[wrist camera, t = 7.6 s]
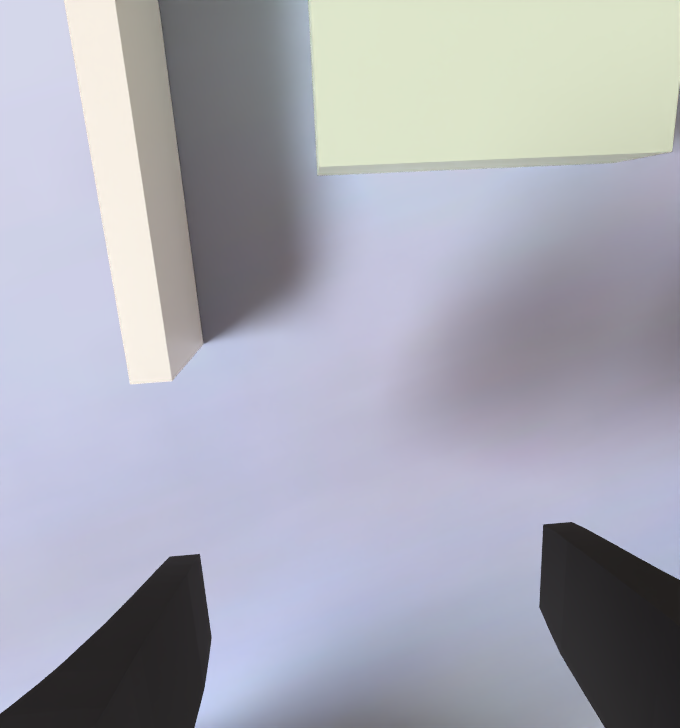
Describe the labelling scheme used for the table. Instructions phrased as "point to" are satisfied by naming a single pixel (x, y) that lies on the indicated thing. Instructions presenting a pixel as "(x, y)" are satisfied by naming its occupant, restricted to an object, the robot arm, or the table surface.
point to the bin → (138, 181)
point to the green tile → (491, 83)
